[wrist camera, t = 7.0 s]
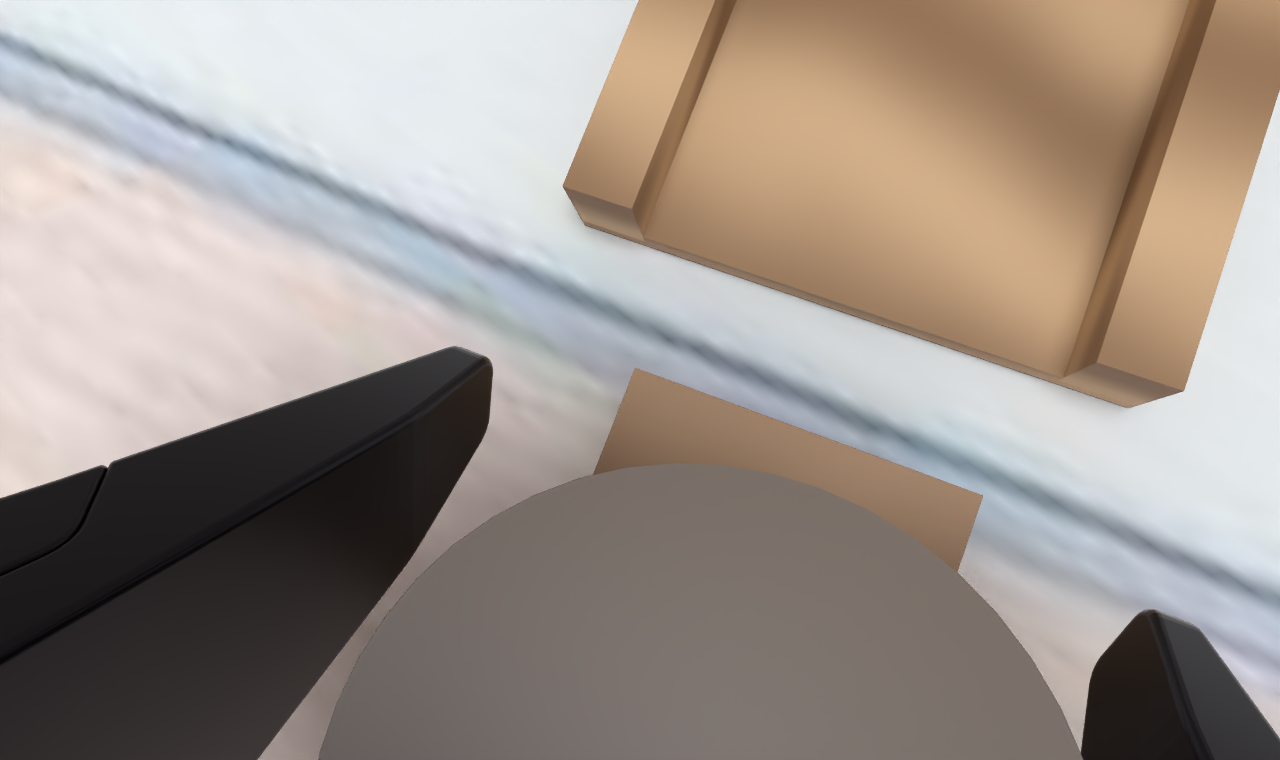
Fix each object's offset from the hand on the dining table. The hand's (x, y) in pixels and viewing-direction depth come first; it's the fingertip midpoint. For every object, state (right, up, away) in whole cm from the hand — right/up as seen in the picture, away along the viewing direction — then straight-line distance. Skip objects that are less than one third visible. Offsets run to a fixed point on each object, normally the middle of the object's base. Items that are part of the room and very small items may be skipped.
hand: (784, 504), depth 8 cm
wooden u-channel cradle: (+5, +8, +11) cm, 14 cm away
